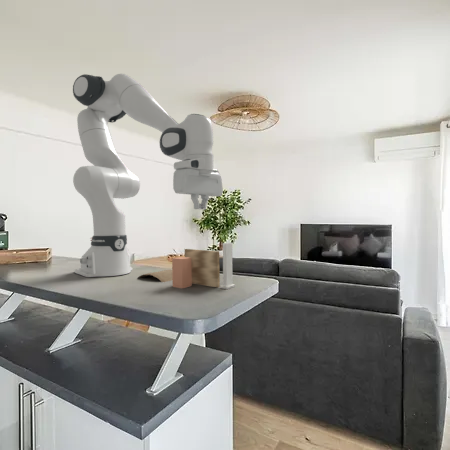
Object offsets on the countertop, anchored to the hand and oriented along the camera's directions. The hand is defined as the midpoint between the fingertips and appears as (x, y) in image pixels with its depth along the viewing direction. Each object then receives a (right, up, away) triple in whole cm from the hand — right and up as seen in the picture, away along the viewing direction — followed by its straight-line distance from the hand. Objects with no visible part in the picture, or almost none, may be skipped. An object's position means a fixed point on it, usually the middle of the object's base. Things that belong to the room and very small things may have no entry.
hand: (200, 209), depth 100 cm
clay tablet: (-14, -24, +7) cm, 28 cm away
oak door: (+1, -23, -6) cm, 24 cm away
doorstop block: (-5, -23, -7) cm, 25 cm away
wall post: (+9, -23, -9) cm, 26 cm away
